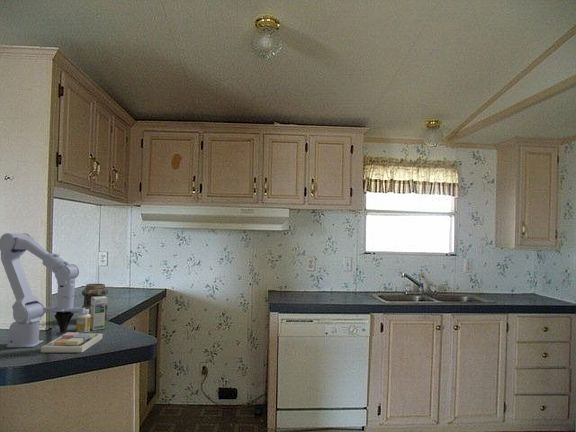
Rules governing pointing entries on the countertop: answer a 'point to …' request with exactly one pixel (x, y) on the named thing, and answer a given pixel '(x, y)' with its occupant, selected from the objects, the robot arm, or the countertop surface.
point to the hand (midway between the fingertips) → (63, 331)
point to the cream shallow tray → (71, 348)
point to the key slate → (82, 336)
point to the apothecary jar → (92, 294)
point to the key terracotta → (60, 342)
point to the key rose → (69, 335)
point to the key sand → (74, 341)
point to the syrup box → (98, 312)
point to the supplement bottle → (83, 322)
